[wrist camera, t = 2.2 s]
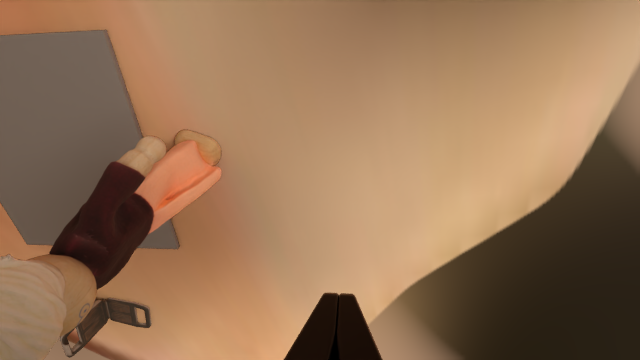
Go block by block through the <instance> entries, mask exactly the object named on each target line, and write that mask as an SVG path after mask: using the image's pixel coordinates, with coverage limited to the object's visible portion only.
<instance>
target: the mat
mask: <svg viewBox="0 0 640 360" xmlns="http://www.w3.org/2000/svg"><path fill="white" fill-rule="evenodd" d="M142 138H143V136H142V133H141V130H140V127H139V124H138V121H137V118H136V116H135V113H134V110H133V107H132V104H131V101H130V98H129V95H128V92H127V89H126V86H125V83H124V80H123V77H122V74H121V71H120V68H119V65H118V62H117V59H116V56H115V53H114V50H113V47H112V44H111V41H110V38H109V36H108V33H107V30H94V31H76V32H57V33H38V34H19V35H0V203H1V204H2V206H3V207H4V209H5V210H6V212H7V214H8V215H9V217H10V218H11V220H12V221H13V223H14V225H15V226H16V228H17V229H18V231H19V232H20V234H21V236H22V237H23V239H24V240H25V242H26V243H27V244H29V245H54V243H55V241H56V239H57V238H58V237H59V235H60V234H61V232H62V231H63V229H64V227H65V226H66V225H67V224H68V223H69V222H70V220H71V219H72V218H73V217H74V216H75V215H76V214H77V213H78V211H79V209H80V208H81V207H82V205H83V204H85V203H86V202H87V200H88V199H89V197H90V196H91V194H92V193H93V191H94V189H95V187H96V186H97V184H98V182H99V180H100V178H101V177H102V175H103V173H104V171H105V169H106V168H107V166H108V165H109V164H110V163H111V162H114V161H117V160H119V159H120V158H121V157H122V156H123V155H124V154H126V153H127V152H128V151H130V150H133V149H135V147H136V145H137V143H138V142H139V141H140V140H141V139H142ZM179 247H180V246H179V243H178V240H177V237H176V234H175V231H174V228H173V225H172V222H171V219H169V220H168V221H166V222H165V223H164V224H162V225H161V226H160V227H159V228H157V229H156V230H154V231H153V232H151V233H149V234H148V235H147V237H146V238H145V239H144V241H143V242H142V243H141V245H139V246H138V247H137V248H156V249H178V248H179Z"/></svg>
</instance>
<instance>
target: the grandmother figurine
mask: <svg viewBox="0 0 640 360" xmlns="http://www.w3.org/2000/svg"><path fill="white" fill-rule="evenodd" d="M220 157H221V148H220V146H219V144H218V143H217V142H216V141H215V140H214V139H212V138H210V137H208V136H205V135H202V134H199V133H196V132H193V131H190V130H182V131H180V132H179V133H178V134H177V136H176V138H175V146H174V147H173V148H171V149H170V150H169V151H168V152H167V153H166V145H165V143H164V142H163V141H162V140H161V139H160V138H158V137H155V136H146V137H143V138H142V139H141V140H140V141H139V142H138V143H137V145H136V147H135V149H133V150H130V151H128V152H127V153H126V154H124V155H123V156H122V157H121V158H120V159H119V160H117V161H114V162H111V163H110V164H109V165H108V166H107V168H106V169H105V171H104V173H103V175H102V177H101V178H100V180H99V182H98V184H97V186H96V187H95V189H94V191H93V193H92V194H91V196H90V197H89V199H88V200H87V202H86V203H85V204H83V205H82V207H81V208H80V209H79V211H78V213H77V214H76V215H75V216H74V217H73V218H72V219H71V220H70V222H69V223H68V224H67V225H66V226H65V227H64V229H63V231H62V232H61V234H60V235H59V237H58V238H57V239H56V241H55V243H54V245H53V247H52V249H51V251H50V254H47V255H43V256H38V257H35V258H31V259H28V260H20V259H15V258H13V257H12V256H11V255H9V254H8V255H7V256H1V257H0V360H43V359H44V358H45V357H46V356H47V355H48V353H49V352H50V349H51V348H52V347H53V346H54V344H55V343H56V341H57V340H58V339H59V337H61V336H63V335H65V334H67V333H68V332H70V331H71V330H72V329H74V328H75V327H76V326H77V325H79V324H80V323H81V322H82V321H83V319H84V318H85V317H86V316H87V314H88V313H89V312H90V310H91V308H92V306H93V304H94V301H95V299H96V294H97V289H99V288H101V287H102V286H104V285H105V284H107V283H108V282H109V281H110V280H111V279H113V278H114V277H115V276H116V275H117V274H118V273H119V272H120V271H121V269H122V268H123V267H124V266H125V265H126V263H127V262H128V261H129V259H130V257H131V255H132V254H133V252H134V250H135V249H136V248H137V247H138V246H139V245H141V243H142V242H143V241H144V239H145V238H146V237H147V235H148V234H149V233H151V232H153V231H154V230H156V229H157V228H159V227H160V226H161V225H162V224H164V223H165V222H166V221H168V220H169V219H170V218H172V217H173V216H174V215H176V214H177V213H179V212H180V211H181V210H182V209H184V208H185V207H186V206H187V205H189V204H190V203H192V202H193V201H194V200H196V199H197V198H198V197H200V196H201V195H202V194H203V193H204V192H205V191H207V190H208V189H210V188H211V187H212V186H213V185H214V184H215V183H216V182H217V181H219V179H220V177H221V169H220V168H219V167H217V166H214V165H216V164H217V163H218V162H219V160H220ZM212 166H213V167H212Z"/></svg>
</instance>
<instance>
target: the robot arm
mask: <svg viewBox="0 0 640 360" xmlns="http://www.w3.org/2000/svg"><path fill="white" fill-rule="evenodd" d="M284 360H382V358H381V355H380V353H379V351H378V348H377V346H376V344H375V341H374V339H373V337H372V334H371V332H370V330H369V327H368V325H367V323H366V320H365V318H364V316H363V314H362V311H361V309H360V307H359V304H358V302H357V300H356V297H355V296H354V295H353V294H344V293H341V294H340V295H338V294H337V293H324V294H323V295H322V297H321V299H320V300H319V302H318V304H317V305H316V307H315V309H314V310H313V312H312V314H311V315H310V317H309V319H308V320H307V322H306V324H305V325H304V327H303V329H302V330H301V332H300V334H299V335H298V337H297V339H296V340H295V342H294V344H293V345H292V347H291V349H290V350H289V352H288V354H287V355H286V357H285V359H284Z"/></svg>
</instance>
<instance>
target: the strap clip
mask: <svg viewBox="0 0 640 360" xmlns="http://www.w3.org/2000/svg"><path fill="white" fill-rule="evenodd" d="M136 308H140V309H143V310H144V311H145V316H146V323H139V322H138V319H137V313H136ZM109 318H110V319H111V320H113V321H116V322H120V323H124V324H128V325H132V326H136V327H143V328H149V327H150V326H151V316H150V309H149V307H147V306H145V305H142V304H139V303H136V302H131V301H125V300H119V299H114V298H108V299H107V300H106V299H105V300H104V299H102V300H97V301H96V299H95V301H94V304H93V306H92V308H91V310H90V312H89V313H88V314H87V316H86V317H85V318H84V319H83V321H82V322H81V323H80V324H79V325H77V326H76V327H75V328H76V330H77V333H78V336H79V341H78V342H77V343H76V344H75V346H74V347H73V348H72V349H71V348H70V346H69V343H68V339H67V337H68V335H69V334H70V333H71V332H72V331H73V330H74V329H75V328H74V329H72V330H71V331H70V332H68V333H67V334H65V335H63V336H61V337H60V341H61V344H62V347H63V349H64V352H65V355H66V356H68V357H72V356H74V355H75V354H76V353H77V352H78V351H79V350H81V349H82V348H83V347H84V346H85V345H86V344H87V343H88V342H89V341H90V340H91V339H92V337H93V336H94V335H95V334H96V333H97V332H98V331H99V330H100V329H101V328H102V327H103V326H104V325H105V324H106V323H107V321H108V319H109Z"/></svg>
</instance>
